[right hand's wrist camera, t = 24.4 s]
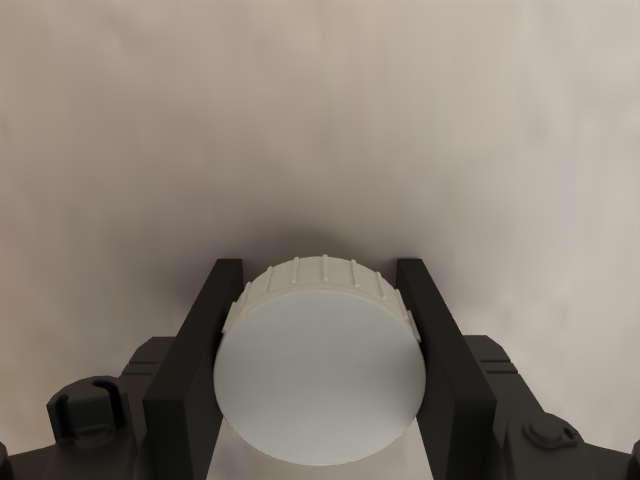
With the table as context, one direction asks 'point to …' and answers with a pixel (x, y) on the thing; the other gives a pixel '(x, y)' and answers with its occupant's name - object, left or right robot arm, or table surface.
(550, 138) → the table surface
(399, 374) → the lid
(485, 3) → the table surface
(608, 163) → the table surface
